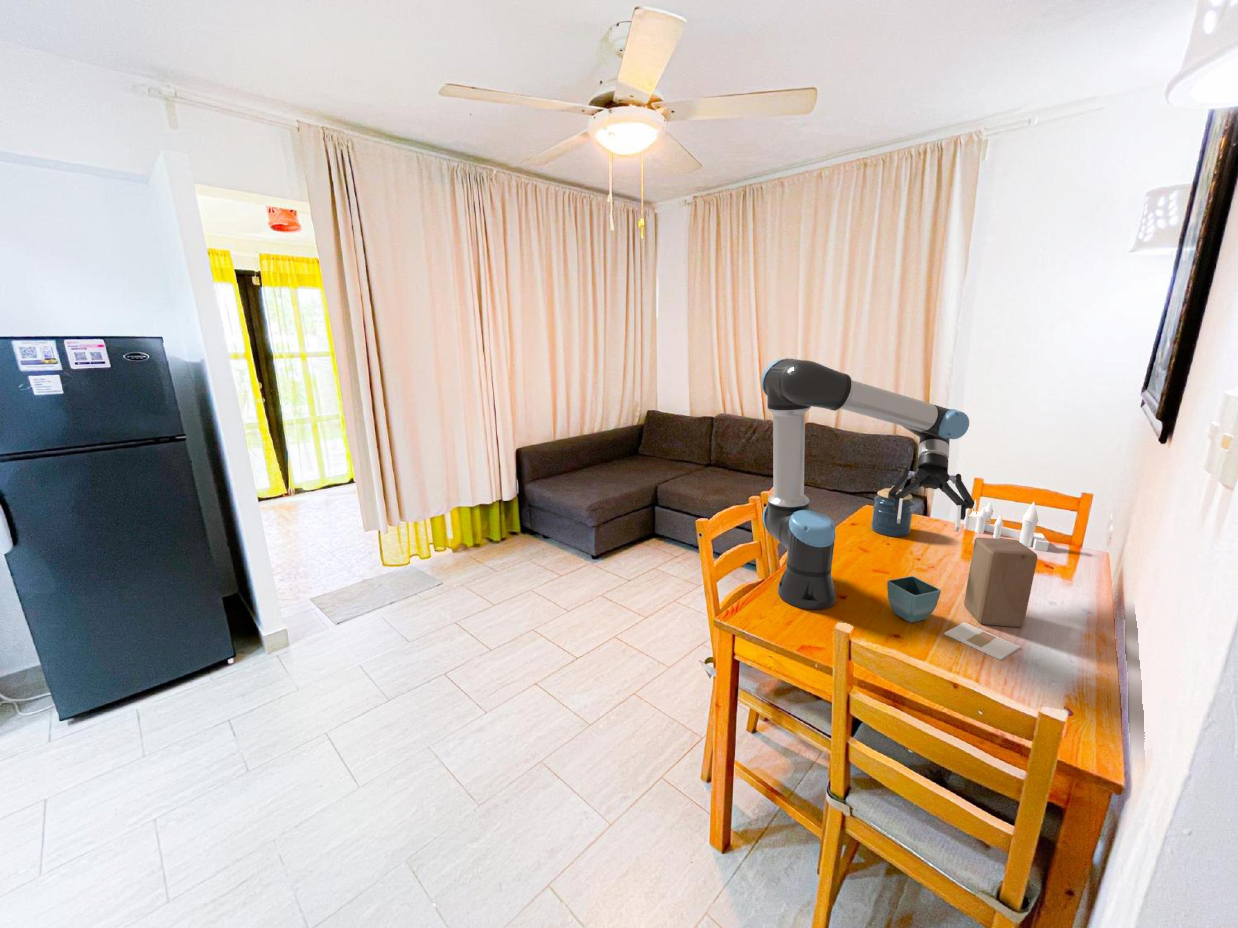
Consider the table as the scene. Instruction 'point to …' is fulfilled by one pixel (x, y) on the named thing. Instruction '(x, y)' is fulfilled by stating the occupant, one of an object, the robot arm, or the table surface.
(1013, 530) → the toy castle
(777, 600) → the table surface
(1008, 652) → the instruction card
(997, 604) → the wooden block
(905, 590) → the flower pot
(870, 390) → the robot arm
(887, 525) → the canister
